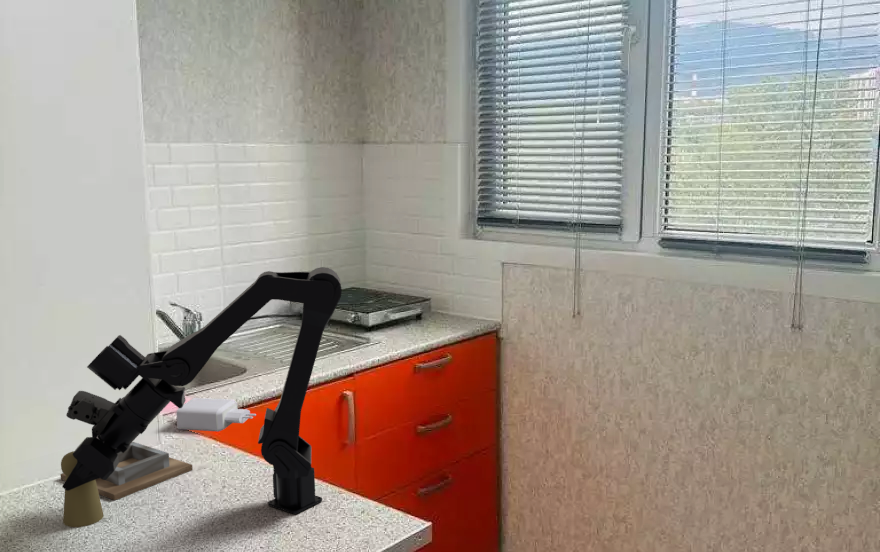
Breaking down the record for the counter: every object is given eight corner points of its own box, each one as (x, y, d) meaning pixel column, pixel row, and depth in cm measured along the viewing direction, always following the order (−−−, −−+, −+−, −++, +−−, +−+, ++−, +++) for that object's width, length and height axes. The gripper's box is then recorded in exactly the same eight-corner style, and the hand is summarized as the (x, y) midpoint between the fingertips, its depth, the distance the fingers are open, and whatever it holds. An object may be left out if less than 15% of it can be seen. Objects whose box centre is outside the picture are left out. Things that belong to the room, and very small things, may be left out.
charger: (245, 435, 177) (177, 431, 180) (263, 420, 186) (197, 417, 189) (244, 412, 177) (175, 409, 179) (262, 398, 185) (196, 395, 188)
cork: (91, 507, 143) (86, 443, 141) (111, 517, 139) (106, 451, 138) (55, 520, 139) (49, 454, 137) (75, 530, 135) (69, 462, 133)
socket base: (192, 469, 159) (191, 451, 158) (114, 500, 146) (113, 480, 145) (138, 452, 168) (137, 434, 167) (60, 479, 155) (59, 460, 154)
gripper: (111, 360, 145) (47, 428, 145) (82, 392, 127) (9, 470, 127) (163, 403, 147) (100, 469, 148) (142, 441, 129) (70, 517, 129)
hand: (70, 479), depth 138 cm, fingers open, 7 cm apart
